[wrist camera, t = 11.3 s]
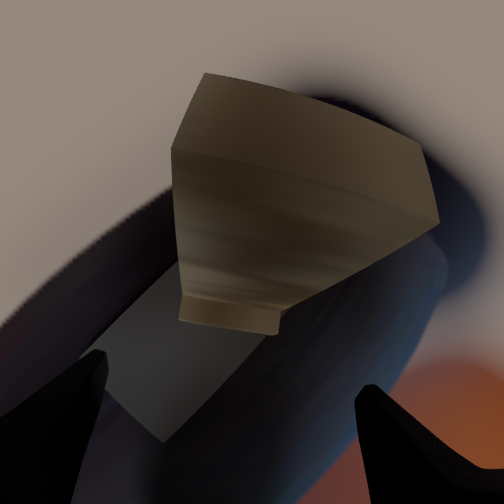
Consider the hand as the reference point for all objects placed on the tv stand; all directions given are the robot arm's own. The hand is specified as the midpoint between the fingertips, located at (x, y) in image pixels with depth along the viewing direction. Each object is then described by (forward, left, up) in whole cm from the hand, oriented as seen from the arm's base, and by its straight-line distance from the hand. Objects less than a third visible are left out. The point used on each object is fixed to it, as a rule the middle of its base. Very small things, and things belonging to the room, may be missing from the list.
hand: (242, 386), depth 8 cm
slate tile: (+3, -1, -9) cm, 9 cm away
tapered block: (+3, -4, -7) cm, 9 cm away
